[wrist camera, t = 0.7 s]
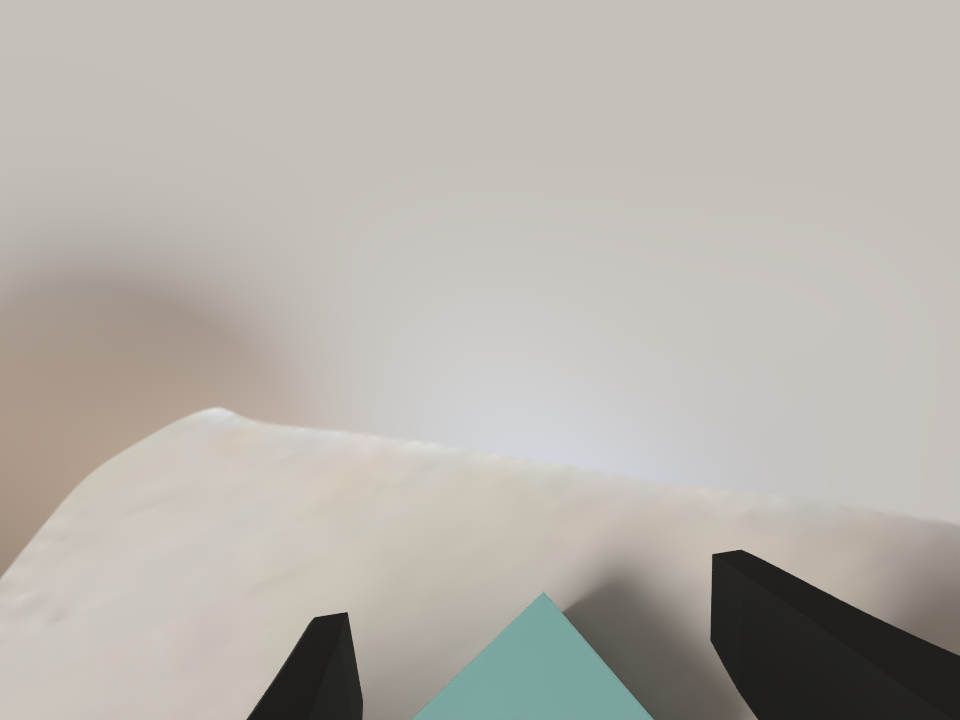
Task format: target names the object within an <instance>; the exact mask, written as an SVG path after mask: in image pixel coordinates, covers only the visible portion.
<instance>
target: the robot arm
mask: <svg viewBox="0 0 960 720" xmlns="http://www.w3.org/2000/svg"><path fill="white" fill-rule="evenodd" d="M710 640H711V642H712V644H713V646H714V648H715V650H716V652H717V654H718V655H719V657H720V659H721V661H722V663H723V665H724V667H725V669H726V670H727V672H728V674H729V676H730V677H731V679H732V681H733V683H734V684H735V686H736V688H737V690H738V691H739V693H740V694H741V696H742V697H743V699H744V700H745V702H746V703H747V705H748V706H749V707H750V709H751V710H752V712H753V713H754V714H755V716H756V717H757V719H758V720H960V656H959V655H956V654H954V653H952V652H949V651H947V650H945V649H942V648H940V647H938V646H935V645H933V644H931V643H929V642H927V641H924V640H922V639H920V638H918V637H916V636H914V635H911V634H909V633H907V632H905V631H903V630H901V629H898V628H896V627H894V626H892V625H890V624H888V623H886V622H884V621H882V620H880V619H877V618H875V617H873V616H871V615H869V614H867V613H865V612H863V611H861V610H859V609H857V608H855V607H853V606H851V605H849V604H847V603H845V602H843V601H841V600H839V599H837V598H836V597H834V596H832V595H830V594H828V593H826V592H824V591H822V590H820V589H818V588H816V587H814V586H812V585H810V584H809V583H807V582H805V581H803V580H801V579H799V578H797V577H795V576H793V575H791V574H789V573H788V572H786V571H784V570H782V569H780V568H778V567H776V566H774V565H772V564H770V563H768V562H766V561H764V560H762V559H760V558H758V557H756V556H754V555H752V554H750V553H748V552H745V551H743V550H736V551H730V552H723V553H717V554H712V596H711V639H710ZM362 714H363V698H362V693H361V687H360V681H359V675H358V670H357V664H356V658H355V652H354V647H353V641H352V635H351V629H350V623H349V618H348V612H345V613H339V614H333V615H326V616H320V617H314V619H313V620H312V621H311V622H310V623H309V625H308V626H307V628H306V630H305V631H304V633H303V635H302V636H301V638H300V639H299V641H298V643H297V644H296V646H295V647H294V649H293V651H292V652H291V654H290V655H289V657H288V659H287V660H286V662H285V663H284V665H283V666H282V668H281V669H280V671H279V673H278V674H277V676H276V677H275V679H274V680H273V682H272V683H271V685H270V686H269V688H268V689H267V691H266V692H265V693H264V695H263V696H262V698H261V699H260V701H259V702H258V704H257V705H256V707H255V708H254V710H253V711H252V713H251V714H250V715H249V717H248V718H247V720H362Z"/></svg>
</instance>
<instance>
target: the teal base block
mask: <svg viewBox="0 0 960 720" xmlns="http://www.w3.org/2000/svg"><path fill="white" fill-rule="evenodd" d="M412 720H654V719H653V718H652V717H651V716H650V715H649V714H648V712H647V711H646V710H645V709H644V708H643V707H642V705H641V704H640V703H639V702H638V701H637V700H636V699H635V697H634V696H633V695H632V694H631V693H630V692H629V690H628V689H627V688H626V687H625V686H624V685H623V683H622V682H621V681H620V680H619V679H618V678H617V676H616V675H615V674H614V673H613V672H612V671H611V669H610V668H609V667H608V666H607V665H606V664H605V662H604V661H603V660H602V659H601V658H600V657H599V655H598V654H597V653H596V652H595V651H594V650H593V648H592V647H591V646H590V645H589V644H588V643H587V641H586V640H585V639H584V638H583V637H582V636H581V634H580V633H579V632H578V631H577V630H576V629H575V627H574V626H573V625H572V624H571V623H570V622H569V620H568V619H567V618H566V617H565V616H564V615H563V614H562V612H561V611H560V610H559V609H558V608H557V607H556V605H555V604H554V603H553V602H552V601H551V600H550V598H549V597H548V596H547V595H546V594H545V593H544V592H543V593H542V594H541V595H540V596H539V597H538V598H537V599H536V600H535V601H534V602H533V603H532V604H531V605H530V606H529V607H528V608H527V609H525V610H524V611H523V612H522V613H521V614H520V615H519V616H518V617H517V618H516V619H515V620H514V621H513V622H512V623H511V624H510V625H509V626H508V627H507V628H506V629H505V630H504V631H503V632H502V633H501V634H500V635H499V636H498V637H497V638H496V639H494V640H493V641H492V642H491V643H490V644H489V645H488V646H487V647H486V648H485V649H484V650H483V651H482V652H481V653H480V654H479V655H478V656H477V657H476V658H475V659H474V660H473V661H472V662H471V663H470V664H469V665H468V666H467V667H466V668H464V669H463V670H462V671H461V672H460V673H459V674H458V675H457V676H456V677H455V678H454V679H453V680H452V681H451V682H450V683H449V684H448V685H447V686H446V687H445V688H444V689H443V690H442V691H441V692H440V693H439V694H438V695H437V696H436V697H435V698H433V699H432V700H431V701H430V702H429V703H428V704H427V705H426V706H425V707H424V708H423V709H422V710H421V711H420V712H419V713H418V714H417V715H416V716H415V717H414V718H413V719H412Z"/></svg>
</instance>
